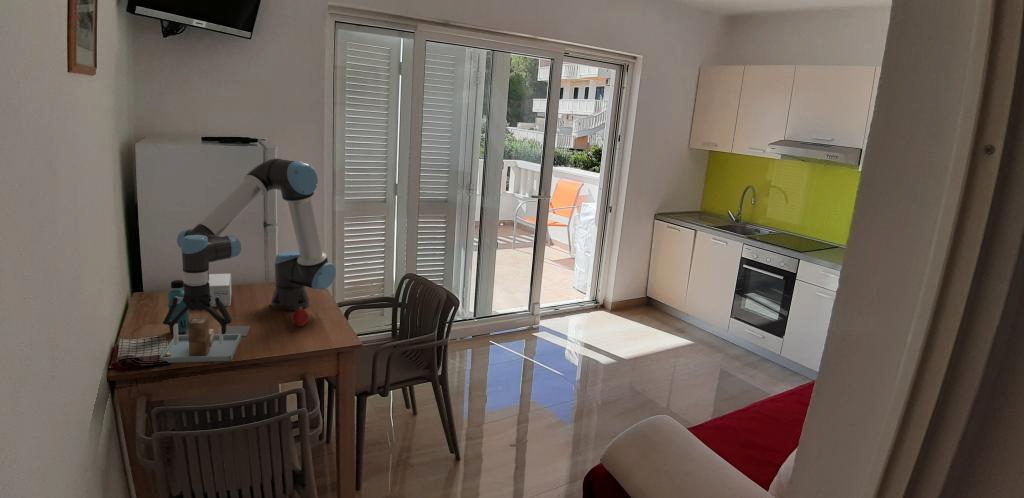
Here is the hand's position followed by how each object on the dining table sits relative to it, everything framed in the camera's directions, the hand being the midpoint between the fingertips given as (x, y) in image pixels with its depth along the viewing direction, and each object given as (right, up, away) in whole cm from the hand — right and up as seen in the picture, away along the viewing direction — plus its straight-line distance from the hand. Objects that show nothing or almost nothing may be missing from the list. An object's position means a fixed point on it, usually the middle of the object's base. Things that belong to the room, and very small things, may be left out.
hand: (199, 343), depth 198 cm
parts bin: (-1, -3, +5) cm, 6 cm away
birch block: (-2, -2, +9) cm, 9 cm away
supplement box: (-21, +10, +53) cm, 58 cm away
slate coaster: (+1, 0, +22) cm, 22 cm away
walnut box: (0, -4, +1) cm, 4 cm away
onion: (+22, +1, +32) cm, 39 cm away
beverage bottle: (-16, +1, +17) cm, 23 cm away
